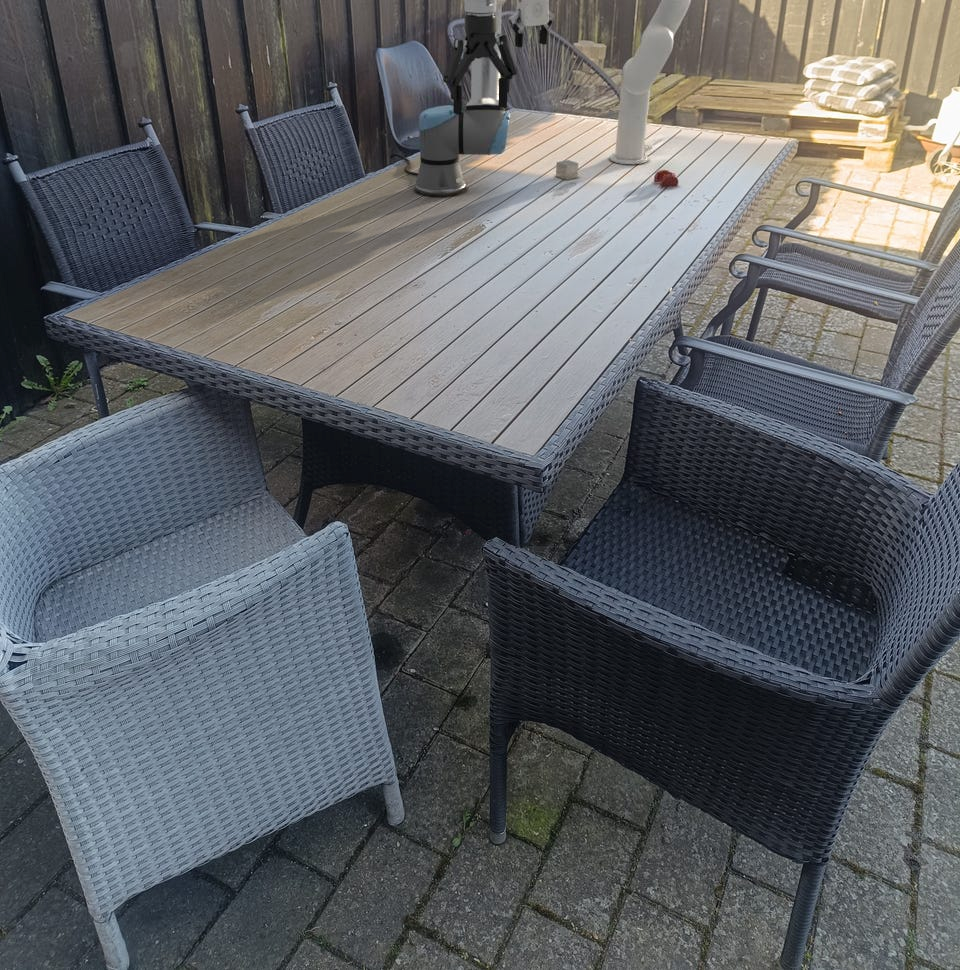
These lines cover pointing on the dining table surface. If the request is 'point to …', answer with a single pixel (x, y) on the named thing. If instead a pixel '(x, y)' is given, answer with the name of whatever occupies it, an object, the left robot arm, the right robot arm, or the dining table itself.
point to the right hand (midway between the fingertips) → (531, 45)
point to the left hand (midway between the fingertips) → (480, 110)
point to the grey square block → (567, 169)
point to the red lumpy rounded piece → (666, 178)
